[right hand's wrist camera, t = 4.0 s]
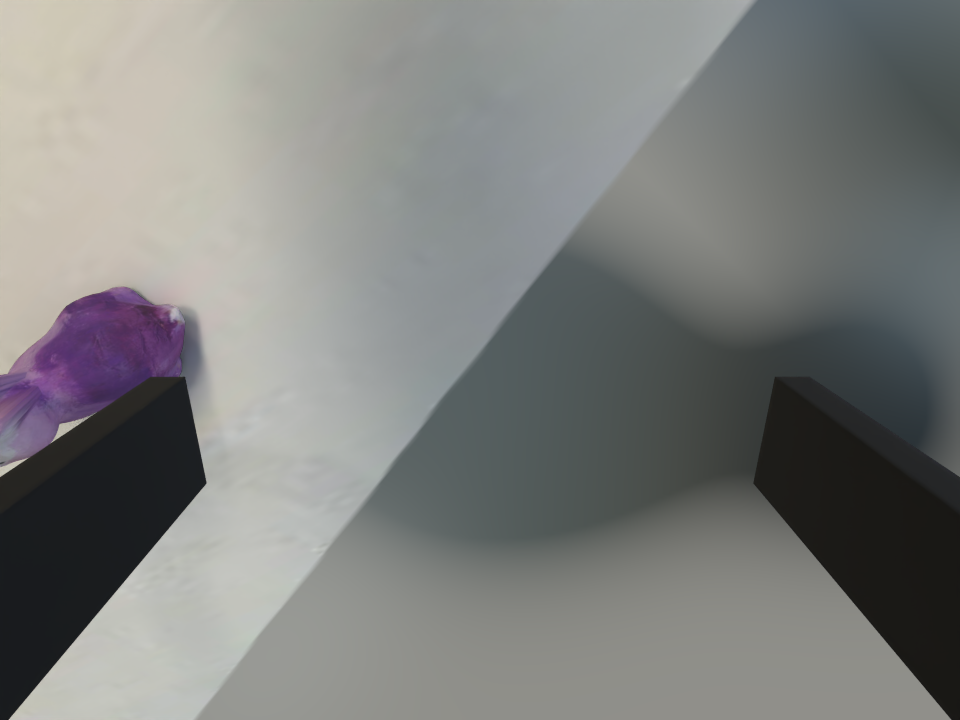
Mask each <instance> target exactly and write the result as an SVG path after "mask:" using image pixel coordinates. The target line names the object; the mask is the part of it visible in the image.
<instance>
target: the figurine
mask: <svg viewBox="0 0 960 720" xmlns="http://www.w3.org/2000/svg"><path fill="white" fill-rule="evenodd" d="M184 331H185V321H184V318H183V315H182V313H181V312H180V310H179V309H178V308H177V307H176V306H174V305H171V304H166V305H153V304H151V303H149V302H148V301H146V300H144V299H143V298H142V297H140V296H139V295H138V294H137V293H136V292H134V291H133V290H131V289H129V288H127V287H115V288H111V289H109V290H106V291H104V292H101V293H97V294H92V295H89V296H86V297H83V298H81V299H79V300H76V301H74V302H72V303H71V304H69V305H68V306H66V307H65V308H64V310H63V311H62V312H61V313H60V315H59V316H58V318H57V319H56V321H55V323H54V324H53V326H52V327H51V329H50V330H49V331H48V332H47V334H46V335H45V336H43V337H42V338H41V339H40V340H39V341H37V342H36V343H35V344H34V345H32V346H31V347H30V348H29V349H27V350H26V352H24V353H23V354H22V355H21V356H20V357H19V358H18V359H17V360H16V362H15V363H14V365H13V366H12V367H11V369H10V371H9V373H8V374H4V375H0V467H2V466H5V465H8V464H9V463H12V462H15V461H18V460H22V459H26V458H29V457H31V456H33V455H34V454H36V453H37V452H39V451H40V450H42V449H43V448H45V447H46V446H48V445H49V444H50V443H51V442H52V441H53V439H54V437H55V435H56V433H57V431H58V427H59V424H61V423H66V422H71V421H75V420H78V419H82V418H84V417H87V416H89V415H91V414H93V413H95V412H99V411H100V410H102V409H103V408H105V407H106V406H108V405H109V404H111V403H112V402H114V401H115V400H117V399H118V398H120V397H121V396H123V395H124V394H126V393H127V392H129V391H130V390H132V389H133V388H135V387H136V386H138V385H139V384H141V383H142V382H144V381H145V380H147V379H148V378H150V377H178V376H179V375H180V373H181V370H182V361H181V359H180V354H181V351H182V348H183V341H184Z"/></svg>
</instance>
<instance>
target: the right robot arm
mask: <svg viewBox="0 0 960 720" xmlns="http://www.w3.org/2000/svg"><path fill="white" fill-rule="evenodd" d="M205 485H206V478H205V473H204V468H203V463H202V458H201V453H200V448H199V443H198V439H197V434H196V429H195V424H194V419H193V414H192V409H191V404H190V399H189V394H188V389H187V384H186V379H185V377H150V378H148V379H147V380H145V381H144V382H142V383H141V384H139V385H138V386H136V387H135V388H133V389H132V390H130V391H129V392H127V393H126V394H124V395H123V396H121V397H120V398H118V399H117V400H115V401H114V402H112V403H111V404H109V405H108V406H106V407H105V408H103V409H102V410H100V411H99V412H97V413H96V414H94V415H93V416H91V417H90V418H88V419H87V420H85V421H84V422H82V423H81V424H79V425H78V426H76V427H75V428H73V429H72V430H70V431H69V432H67V433H66V434H64V435H63V436H61V437H60V438H58V439H57V440H55V441H54V442H52V443H51V444H49V445H48V446H46V447H45V448H43V449H42V450H40V451H39V452H37V453H36V454H34V455H33V456H31V457H30V458H28V459H27V460H25V461H24V462H22V463H21V464H19V465H18V466H16V467H15V468H13V469H12V470H10V471H9V472H7V473H6V474H4V475H3V476H1V477H0V720H9V719H10V717H11V716H12V715H13V714H14V713H15V711H16V710H17V709H18V708H19V707H20V705H21V704H22V703H23V702H24V701H25V699H26V698H27V697H28V696H29V695H30V693H31V692H32V691H33V690H34V689H35V687H36V686H37V685H38V684H39V683H40V682H41V680H42V679H43V678H44V677H45V676H46V674H47V673H48V672H49V671H50V670H51V668H52V667H53V666H54V665H55V664H56V662H57V661H58V660H59V659H60V658H61V656H62V655H63V654H64V653H65V652H66V650H67V649H68V648H69V647H70V646H71V644H72V643H73V642H74V641H75V640H76V639H77V637H78V636H79V635H80V634H81V633H82V631H83V630H84V629H85V628H86V627H87V625H88V624H89V623H90V622H91V621H92V619H93V618H94V617H95V616H96V615H97V613H98V612H99V611H100V610H101V609H102V607H103V606H104V605H105V604H106V603H107V602H108V600H109V599H110V598H111V597H112V596H113V594H114V593H115V592H116V591H117V590H118V588H119V587H120V586H121V585H122V584H123V582H124V581H125V580H126V579H127V578H128V576H129V575H130V574H131V573H132V572H133V570H134V569H135V568H136V567H137V566H138V565H139V563H140V562H141V561H142V560H143V559H144V557H145V556H146V555H147V554H148V553H149V551H150V550H151V549H152V548H153V547H154V545H155V544H156V543H157V542H158V541H159V539H160V538H161V537H162V536H163V535H164V533H165V532H166V531H167V530H168V529H169V528H170V526H171V525H172V524H173V523H174V522H175V520H176V519H177V518H178V517H179V516H180V514H181V513H182V512H183V511H184V510H185V508H186V507H187V506H188V505H189V504H190V502H191V501H192V500H193V499H194V498H195V496H196V495H197V494H198V493H199V492H200V491H201V489H202V488H203V487H204V486H205ZM754 485H755V486H756V487H757V488H758V489H759V491H760V492H761V493H762V494H763V495H764V496H765V498H766V499H767V500H768V501H769V502H770V504H771V505H772V506H773V507H774V508H775V510H776V511H777V512H778V513H779V514H780V516H781V517H782V518H783V519H784V520H785V522H786V523H787V524H788V525H789V526H790V528H791V529H792V530H793V531H794V532H795V533H796V535H797V536H798V537H799V538H800V539H801V541H802V542H803V543H804V544H805V545H806V547H807V548H808V549H809V550H810V551H811V553H812V554H813V555H814V556H815V557H816V559H817V560H818V561H819V562H820V563H821V565H822V566H823V567H824V568H825V569H826V570H827V572H828V573H829V574H830V575H831V576H832V578H833V579H834V580H835V581H836V582H837V584H838V585H839V586H840V587H841V588H842V590H843V591H844V592H845V593H846V594H847V596H848V597H849V598H850V599H851V600H852V602H853V603H854V604H855V605H856V606H857V607H858V609H859V610H860V611H861V612H862V613H863V615H864V616H865V617H866V618H867V619H868V621H869V622H870V623H871V624H872V625H873V627H874V628H875V629H876V630H877V631H878V633H879V634H880V635H881V636H882V637H883V638H884V640H885V641H886V642H887V643H888V645H889V646H890V647H891V648H892V649H893V650H894V652H895V653H896V654H897V655H898V656H899V658H900V659H901V660H902V661H903V662H904V664H905V665H906V666H907V667H908V668H909V670H910V671H911V672H912V673H913V674H914V676H915V677H916V678H917V679H918V680H919V681H920V683H921V684H922V685H923V686H924V687H925V689H926V690H927V691H928V692H929V693H930V695H931V696H932V697H933V698H934V699H935V701H936V702H937V703H938V704H939V705H940V707H941V708H942V709H943V710H944V711H945V713H946V714H947V715H948V716H949V717H950V719H951V720H960V477H959V476H957V475H956V474H954V473H953V472H951V471H950V470H948V469H947V468H945V467H944V466H942V465H941V464H939V463H938V462H936V461H935V460H933V459H932V458H930V457H929V456H927V455H926V454H924V453H923V452H921V451H920V450H918V449H917V448H915V447H914V446H912V445H911V444H909V443H908V442H906V441H905V440H903V439H902V438H900V437H899V436H897V435H896V434H894V433H893V432H891V431H890V430H888V429H887V428H885V427H884V426H882V425H881V424H879V423H878V422H876V421H875V420H873V419H872V418H870V417H869V416H867V415H866V414H864V413H863V412H861V411H860V410H858V409H857V408H855V407H854V406H852V405H851V404H849V403H848V402H846V401H845V400H843V399H842V398H840V397H839V396H837V395H836V394H834V393H833V392H831V391H830V390H828V389H827V388H825V387H824V386H822V385H821V384H819V383H818V382H816V381H815V380H813V379H812V378H810V377H775V379H774V384H773V389H772V394H771V399H770V404H769V409H768V414H767V419H766V424H765V429H764V434H763V439H762V443H761V448H760V453H759V458H758V463H757V468H756V473H755V478H754Z"/></svg>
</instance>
